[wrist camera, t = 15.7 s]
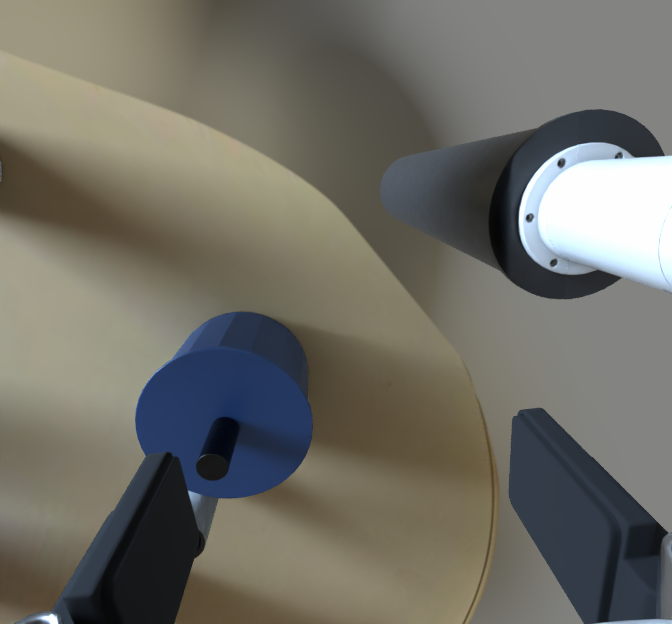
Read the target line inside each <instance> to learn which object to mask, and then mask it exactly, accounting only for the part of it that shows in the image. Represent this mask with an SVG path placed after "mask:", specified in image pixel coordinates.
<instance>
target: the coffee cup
mask: <svg viewBox="0 0 672 624" xmlns="http://www.w3.org/2000/svg"><path fill="white" fill-rule="evenodd" d="M1 178H2V164H1V159H0V182H1Z"/></svg>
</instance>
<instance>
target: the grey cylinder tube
mask: <svg viewBox="0 0 672 624" xmlns="http://www.w3.org/2000/svg"><path fill="white" fill-rule="evenodd" d="M188 493H189V496H190V500H191V504H192V507H193V511H194V515H195V519H196V522H197V526H198V530H199V544H198V548H197V551H196V554H195V558H196V557H198V556H199V555H200V554H201V553H202V552H203V550H204V548H205V545H206V541H207V538H208V534H209V531H210V527H211V524H212V520H213V517H214V513H215V510H216V506H217V503H218V499H219V498H215V497H208V496H204V495H200V494H196V493H194V492H191V491H188Z"/></svg>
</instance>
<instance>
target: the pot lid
mask: <svg viewBox="0 0 672 624" xmlns="http://www.w3.org/2000/svg"><path fill="white" fill-rule="evenodd" d="M135 423H136V432H137V436H138V440H139V443H140V445H141V448H142V450H143V452H144V453H145V455H146V456H147V455H148V454H154V453H162V452H171V453H172V455H173V457H174V456H177V457H178V458H179V460H180V463H181V466H182V470H183V474H184V478H185V481H186V485H187V489H188V491H191V492H194V493H196V494H200V495H204V496H208V497H215V498H241V497H247V496H252V495H256V494H259V493H262V492H264V491H267V490H269V489H271V488H273V487H275V486H277V485H279V484H280V483H282V482H283V481H284V480H286V479H287V478H288V477H289V476H290V475H291V474H292V473H293V472H295V470H296V469H297V468H298V467H299V465H300V464H301V463H302V461H303V459H304V458H305V456H306V454H307V452H308V449H309V447H310V443H311V439H312V431H313V420H312V412H311V407H310V404H309V401H308V399H307V396H306V394H305V392H304V391H303V389H302V387H301V386H300V384H299V383H298V382H297V380H296V379H295V378H294V377H293V376H292V375H291V374H290V373H289V372H288V371H287V370H286V369H285V368H283V367H282V366H281V365H280V364H278V363H277V362H275V361H273V360H272V359H270V358H268V357H266V356H264V355H262V354H259V353H257V352H254V351H251V350H247V349H243V348H237V347H228V346H214V347H205V348H199V349H195V350H192V351H189V352H186V353H184V354H181V355H179V356H177V357H175V358H173V359H172V360H170V361H169V362H167V363H166V364H164V365H163V366H162V367H161V368H160V369H158V370H157V371H156V373H155V374H154V375H153V376H152V377H151V378H150V380H149V381H148V382H147V384H146V385H145V387H144V389H143V390H142V393H141V395H140V397H139V400H138V404H137V408H136V416H135Z"/></svg>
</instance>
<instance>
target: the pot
mask: <svg viewBox="0 0 672 624" xmlns="http://www.w3.org/2000/svg"><path fill="white" fill-rule="evenodd" d="M214 346H228V347H237V348H243V349H247V350H251V351H254V352H257V353H259V354H262V355H264V356H266V357H268V358H270V359H272V360H273V361H275V362H277V363H278V364H280V365H281V366H282V367H283V368H285V369H286V370H287V371H288V372H289V373H290V374H291V375H292V376H293V377H294V378H295V379H296V380H297V382H298V383H299V384H300V386H301V387H302V389H303V391H304V392H305V394H306V396H307V399H308V366H307V361H306V356H305V353H304V351H303V348H302V346H301V345H300V343H299V341H298V340H297V338H296V337H295V336H294V335H293V334H292V333H291V331H290V330H289V329H287V328H286V327H285V326H284V325H282V324H281V323H279V322H278V321H276V320H274V319H272V318H270V317H267V316H264V315H261V314H257V313H252V312H232V313H226V314H223V315H219V316H217V317H214V318H212V319H210V320H208V321H207V322H205V323H204V324H202V325H201V326H200V327H199V328H198V329H197V330H195V331H194V332H192V334H191V335H190V336H189V337H188V339H187V340H186V341H185V343H184V344H183V345H182V347H181V348H180V349H179V351H178V352H177V353H176V355H175V356H174V357H173V358H175V357H177V356H179V355H181V354H184V353H186V352H189V351H192V350H195V349H199V348H205V347H214Z"/></svg>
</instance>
